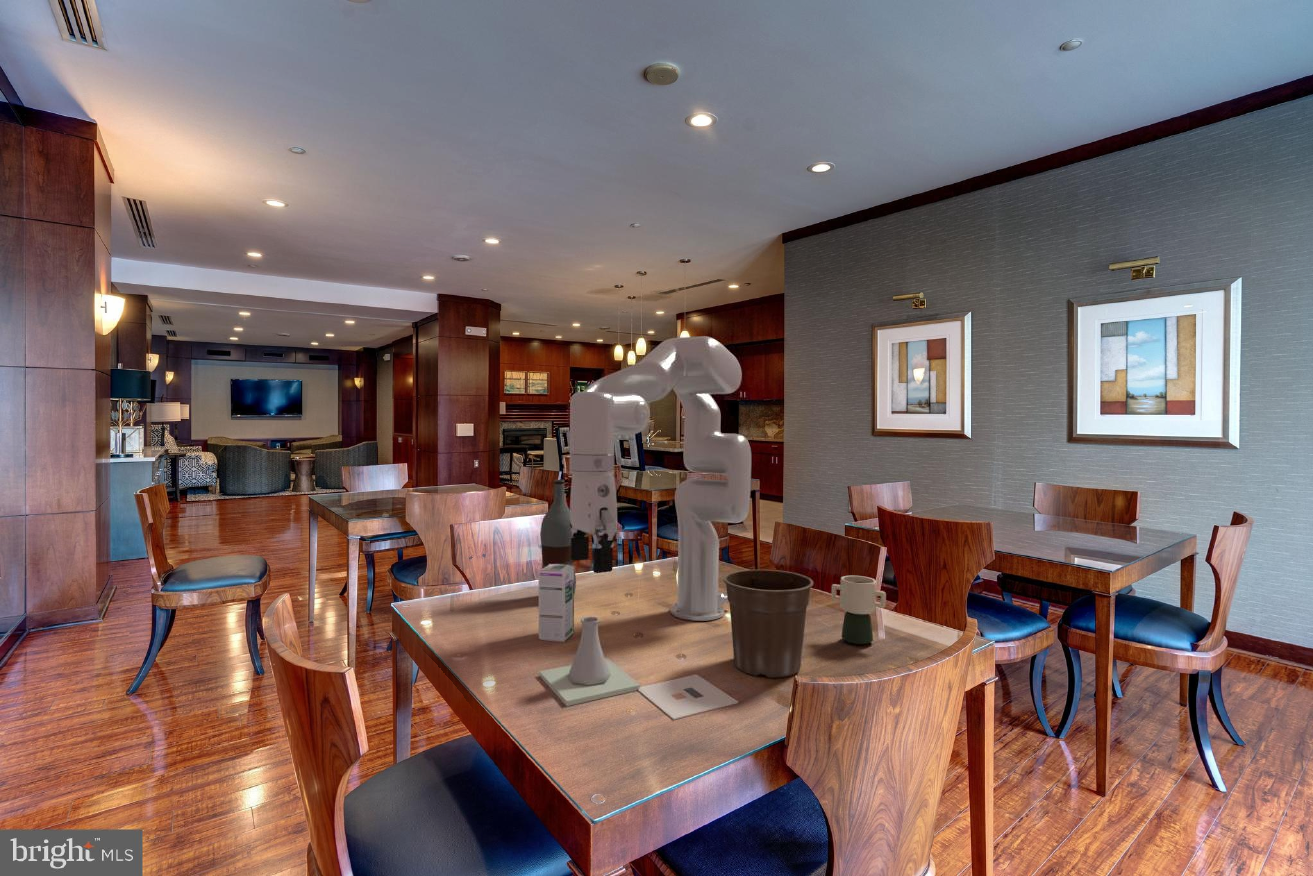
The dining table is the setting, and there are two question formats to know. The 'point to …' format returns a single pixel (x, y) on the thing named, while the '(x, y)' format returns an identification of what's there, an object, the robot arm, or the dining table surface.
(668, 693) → the white flat square
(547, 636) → the syrup box
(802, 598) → the plant pot
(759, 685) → the dining table surface
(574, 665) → the flask
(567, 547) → the bottle
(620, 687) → the coaster
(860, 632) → the character mug
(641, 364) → the robot arm
